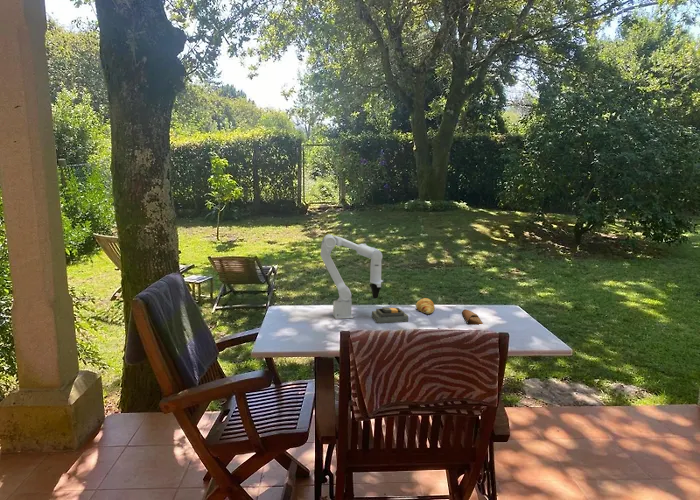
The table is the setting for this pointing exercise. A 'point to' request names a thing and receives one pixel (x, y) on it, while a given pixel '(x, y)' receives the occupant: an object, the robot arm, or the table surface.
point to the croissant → (425, 305)
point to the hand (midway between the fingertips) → (375, 297)
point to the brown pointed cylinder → (471, 317)
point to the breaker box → (389, 316)
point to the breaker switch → (389, 310)
